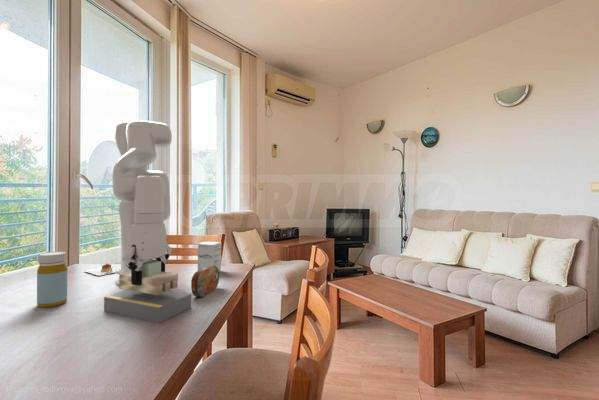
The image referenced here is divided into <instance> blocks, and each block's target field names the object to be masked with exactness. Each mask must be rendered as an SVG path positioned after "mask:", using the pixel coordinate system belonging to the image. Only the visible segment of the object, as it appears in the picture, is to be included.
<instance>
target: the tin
mask: <svg viewBox="0 0 599 400" xmlns="http://www.w3.org/2000/svg"><path fill="white" fill-rule="evenodd" d="M192 275H193V276H192V277H191V280H190V283H191V284H190V286H191V287H190V288H191V295H193V296H194V297H198V298H199V297H200V298H205V297H206V296H207V295H209V294H211V293H212V292H213V291H215V290H216V289H217V288H218V285H219V283H220V282H219V281H220V271H218V268H217V267H216V266H207V267H205V268H203V269H201V270H199V271H198V270H197V271H195V272H194V274H192Z"/></svg>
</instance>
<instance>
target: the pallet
mask: <svg viewBox="0 0 599 400" xmlns="http://www.w3.org/2000/svg"><path fill="white" fill-rule="evenodd" d="M118 275H119V277H118V278H119V285H118V286H119V287H118V288H119V289H120V290H124V291H125V290H131V291H137V292H142V293H148V294H154V295H159V294H161V293H162V291H163V292H167V291H169V290H170V291H171V290H174V289H177V288H178V287H179V285H178V284H179V282H178V281H179V277H178V276H179V274H178V273H176V272H168V271H165V272H162V271H161V273H159V274H156V275H153V276H149V277H147V276H142V284H141V285H132V284H131V272H127V273H123V274H118Z"/></svg>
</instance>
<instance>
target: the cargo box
mask: <svg viewBox="0 0 599 400" xmlns="http://www.w3.org/2000/svg"><path fill="white" fill-rule="evenodd" d="M137 263H138V262H137ZM137 263H136V265H137ZM140 270H141V271H142V276H147V277H149V276H153V275H156V274H159V273H161V261H156V260H154V259H151V260H146V261H144V262H143V264H142V266H141V268H140Z"/></svg>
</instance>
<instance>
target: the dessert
mask: <svg viewBox="0 0 599 400" xmlns="http://www.w3.org/2000/svg"><path fill="white" fill-rule="evenodd" d="M110 263H111V262H109V261H106V263H105V264H103V265H101V267H98V268H94V269H92V268H91V269H88V270H84V272H85V273H88V274H90V275H94V276H98V277H102V276H101V275H103V276H107V275H106V274H108V275H112V274H111V273H113V274H116V271H115V272H114V271H112V270H113V268H112V266H113V265H111V264H110ZM115 266H116V265H115ZM116 267H118V268H121V266H116ZM98 269H101V270H100V272H109V271H112V272H109V273H101V274H97V273H93V272H94V271H93V270H98ZM88 271H93V272H88ZM98 271H99V270H98Z"/></svg>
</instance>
